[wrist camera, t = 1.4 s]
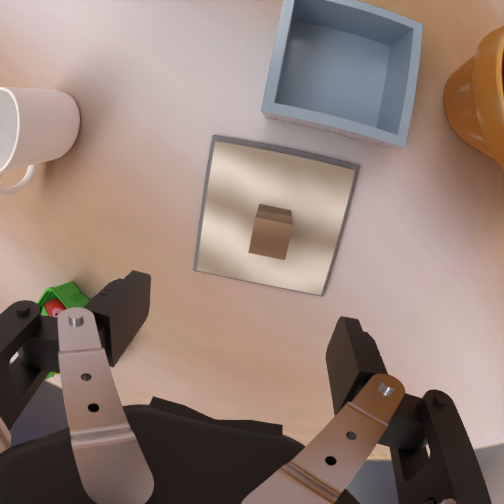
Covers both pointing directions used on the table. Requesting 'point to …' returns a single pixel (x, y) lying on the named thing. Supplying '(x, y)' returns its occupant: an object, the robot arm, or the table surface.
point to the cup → (34, 130)
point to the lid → (272, 217)
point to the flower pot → (480, 98)
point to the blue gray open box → (344, 69)
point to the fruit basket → (61, 302)
